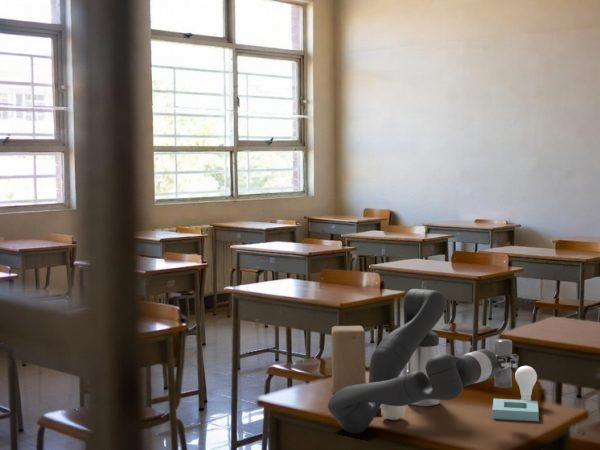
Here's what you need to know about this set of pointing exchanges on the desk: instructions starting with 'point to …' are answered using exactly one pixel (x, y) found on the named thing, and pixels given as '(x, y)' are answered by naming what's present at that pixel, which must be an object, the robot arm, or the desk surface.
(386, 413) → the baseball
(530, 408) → the frame
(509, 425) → the desk surface
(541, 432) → the desk surface
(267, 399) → the desk surface
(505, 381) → the brushed steel cylinder
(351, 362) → the wooden block
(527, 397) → the lightbulb
